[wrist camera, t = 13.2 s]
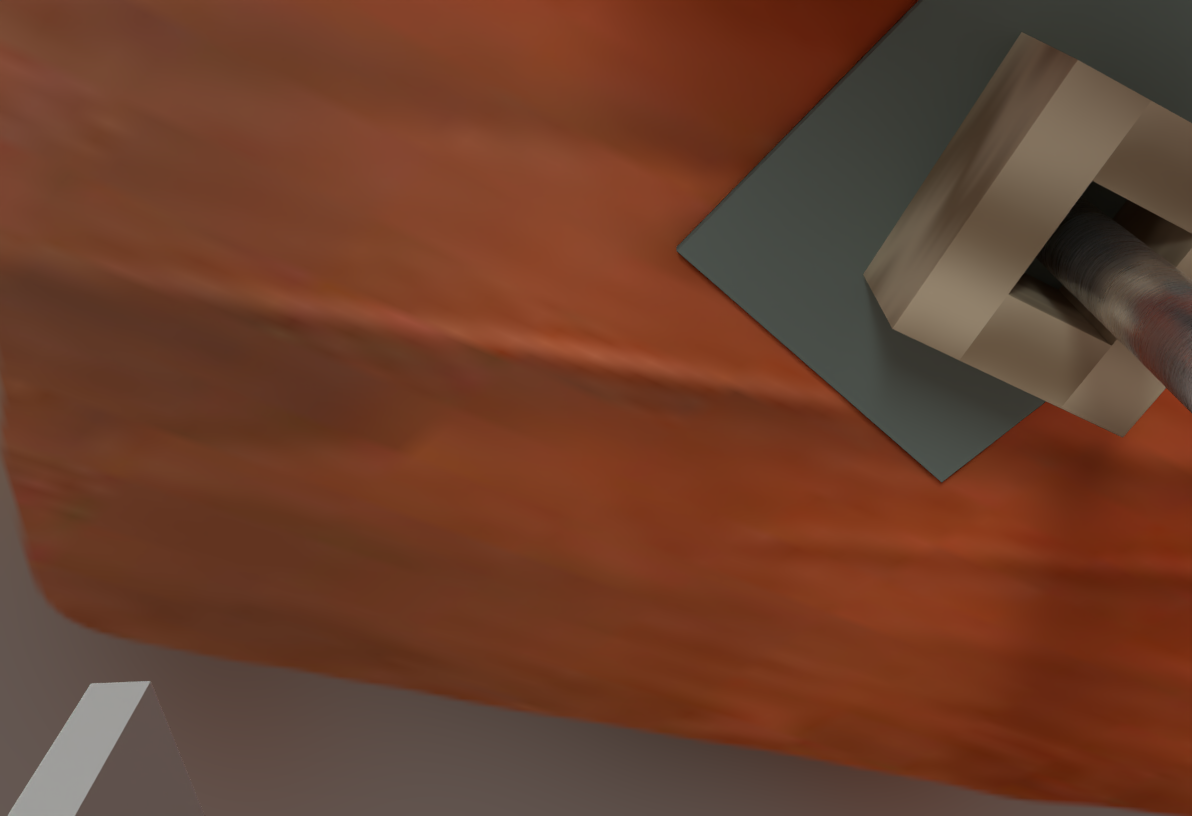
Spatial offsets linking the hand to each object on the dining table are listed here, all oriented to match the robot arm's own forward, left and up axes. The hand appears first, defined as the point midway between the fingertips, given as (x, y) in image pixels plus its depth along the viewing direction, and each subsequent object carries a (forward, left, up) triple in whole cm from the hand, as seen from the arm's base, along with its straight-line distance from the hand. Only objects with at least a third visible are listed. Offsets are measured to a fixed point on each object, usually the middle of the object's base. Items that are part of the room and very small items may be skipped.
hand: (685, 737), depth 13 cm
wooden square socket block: (-4, +15, -28) cm, 32 cm away
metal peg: (-4, +15, -28) cm, 32 cm away
